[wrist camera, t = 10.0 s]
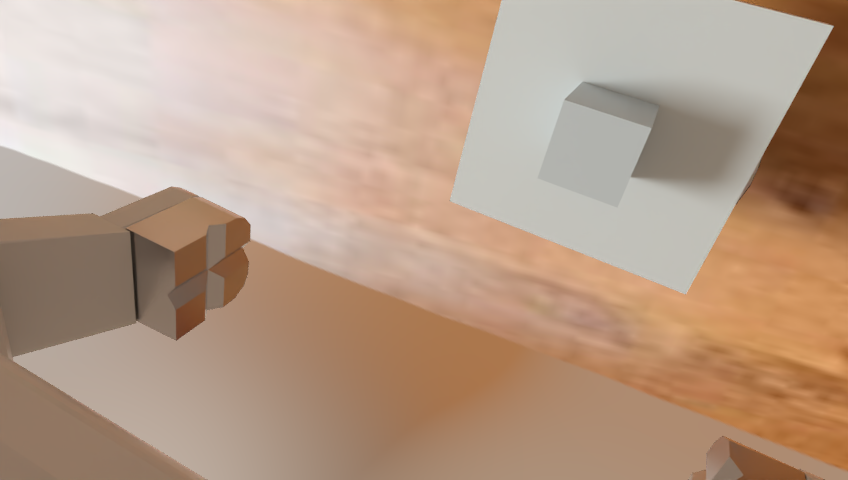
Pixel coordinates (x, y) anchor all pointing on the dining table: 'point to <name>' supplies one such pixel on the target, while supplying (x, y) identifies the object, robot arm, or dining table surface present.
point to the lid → (630, 122)
